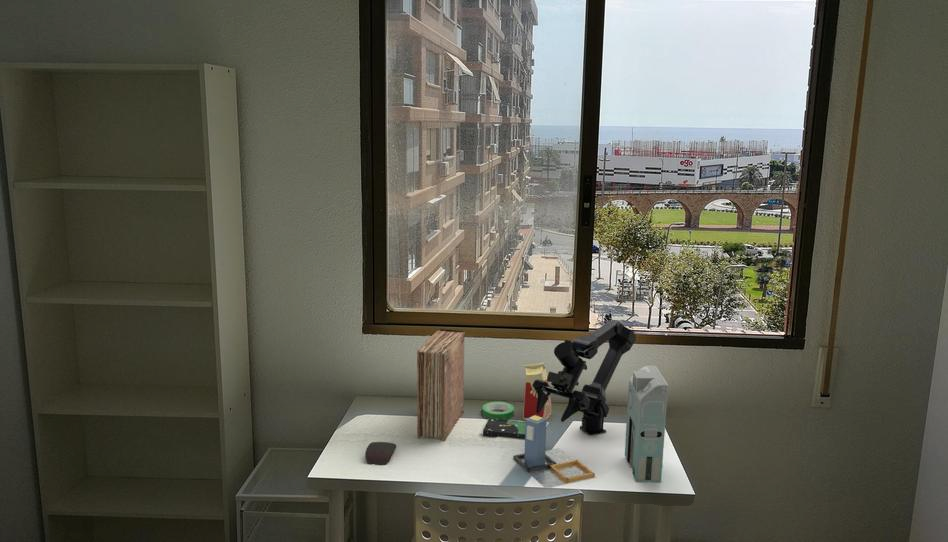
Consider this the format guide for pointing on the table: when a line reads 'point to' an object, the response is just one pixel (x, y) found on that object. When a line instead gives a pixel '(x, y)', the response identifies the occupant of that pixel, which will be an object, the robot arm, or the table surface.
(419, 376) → the book
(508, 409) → the tape roll
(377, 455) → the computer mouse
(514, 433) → the disk drive
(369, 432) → the table surface
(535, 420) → the plug
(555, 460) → the panel
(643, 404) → the device
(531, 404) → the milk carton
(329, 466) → the table surface
